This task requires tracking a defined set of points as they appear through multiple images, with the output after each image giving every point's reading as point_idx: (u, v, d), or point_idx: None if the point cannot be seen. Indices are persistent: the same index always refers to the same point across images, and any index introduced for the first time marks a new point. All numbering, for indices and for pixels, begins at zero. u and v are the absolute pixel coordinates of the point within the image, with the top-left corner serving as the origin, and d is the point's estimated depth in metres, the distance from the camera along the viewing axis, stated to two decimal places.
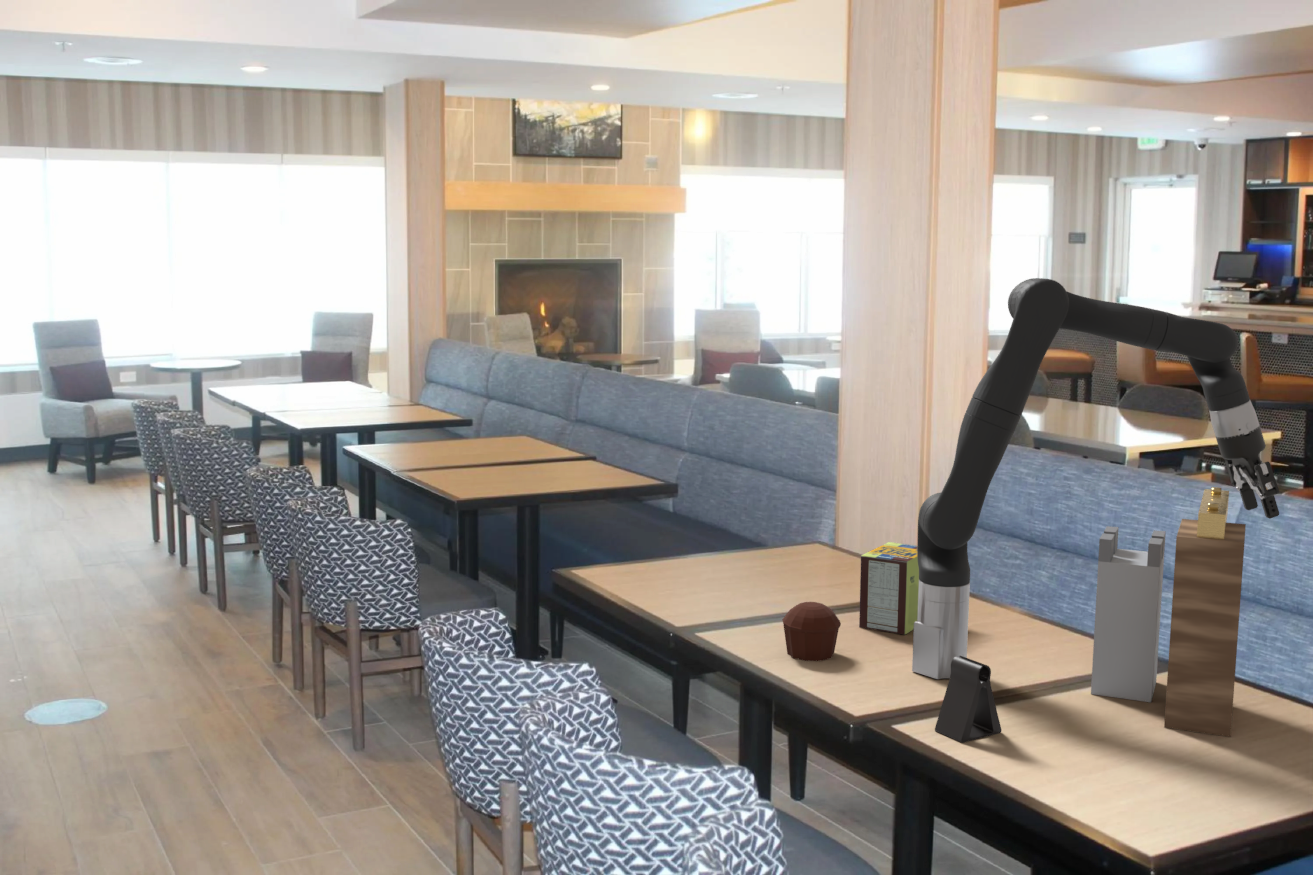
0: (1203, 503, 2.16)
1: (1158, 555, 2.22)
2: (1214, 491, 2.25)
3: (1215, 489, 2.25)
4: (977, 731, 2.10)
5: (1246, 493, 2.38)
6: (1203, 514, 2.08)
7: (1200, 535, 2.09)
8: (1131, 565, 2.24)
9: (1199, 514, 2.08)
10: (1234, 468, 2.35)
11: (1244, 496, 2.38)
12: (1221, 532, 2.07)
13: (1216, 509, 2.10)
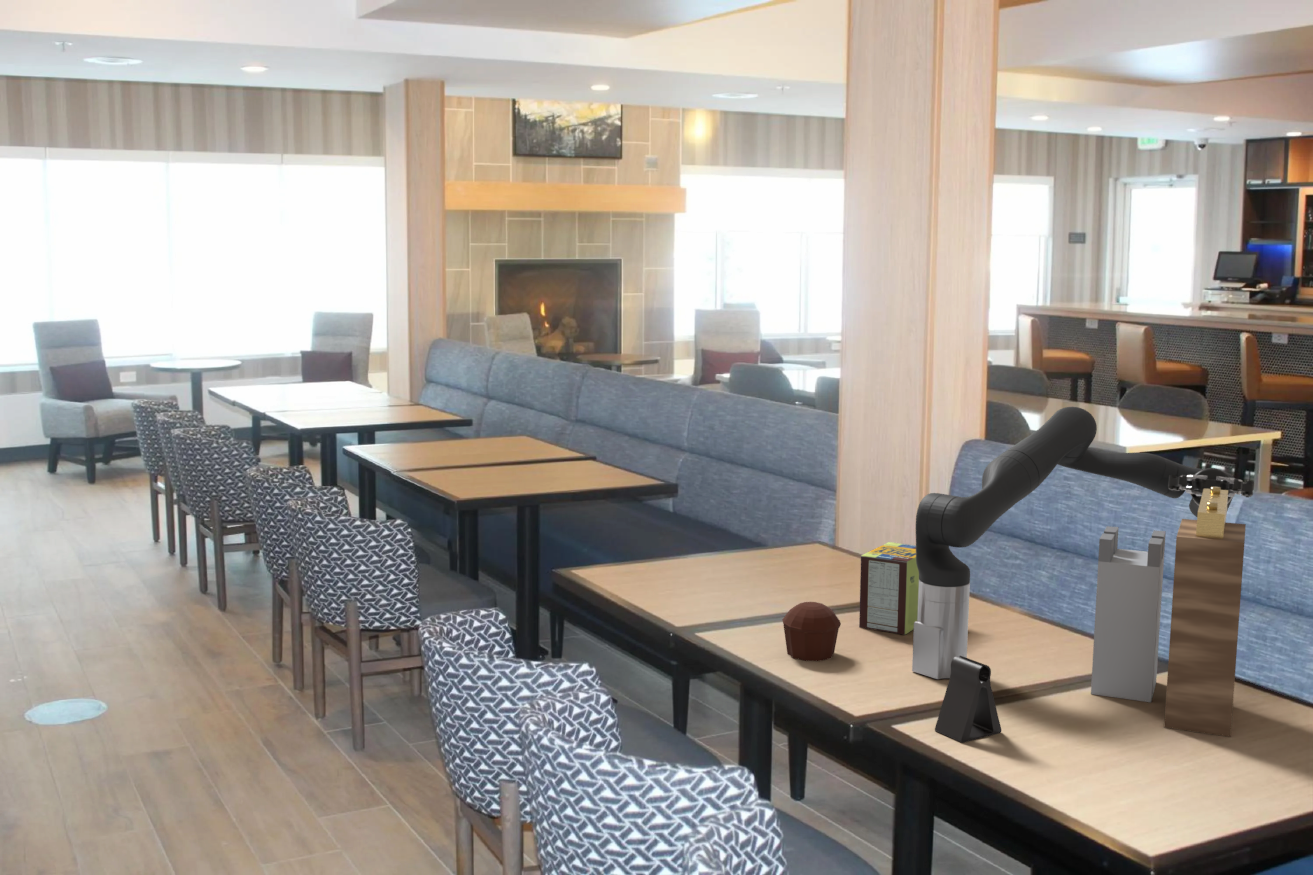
0: (1202, 502, 2.17)
1: (1158, 555, 2.22)
2: (1213, 491, 2.25)
3: (1214, 488, 2.25)
4: (977, 731, 2.10)
5: None
6: (1202, 513, 2.08)
7: (1199, 534, 2.09)
8: (1131, 565, 2.24)
9: (1198, 513, 2.09)
10: None
11: None
12: (1220, 531, 2.08)
13: (1215, 508, 2.11)
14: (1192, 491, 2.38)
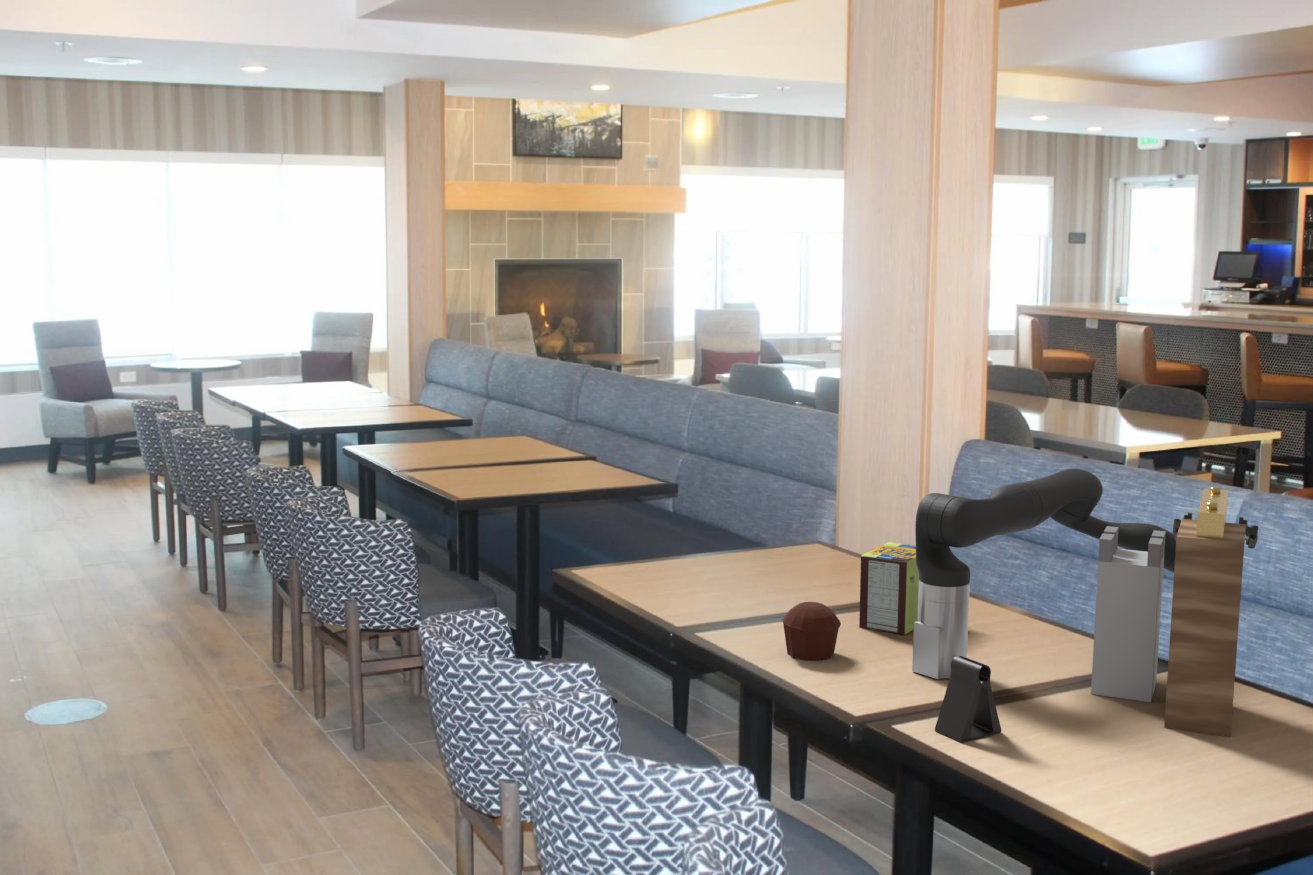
0: (1202, 502, 2.17)
1: (1158, 555, 2.22)
2: (1213, 491, 2.25)
3: (1214, 488, 2.25)
4: (977, 731, 2.10)
5: None
6: (1202, 513, 2.08)
7: (1199, 534, 2.09)
8: (1131, 565, 2.24)
9: (1198, 513, 2.09)
10: None
11: None
12: (1220, 531, 2.08)
13: (1215, 508, 2.11)
14: None
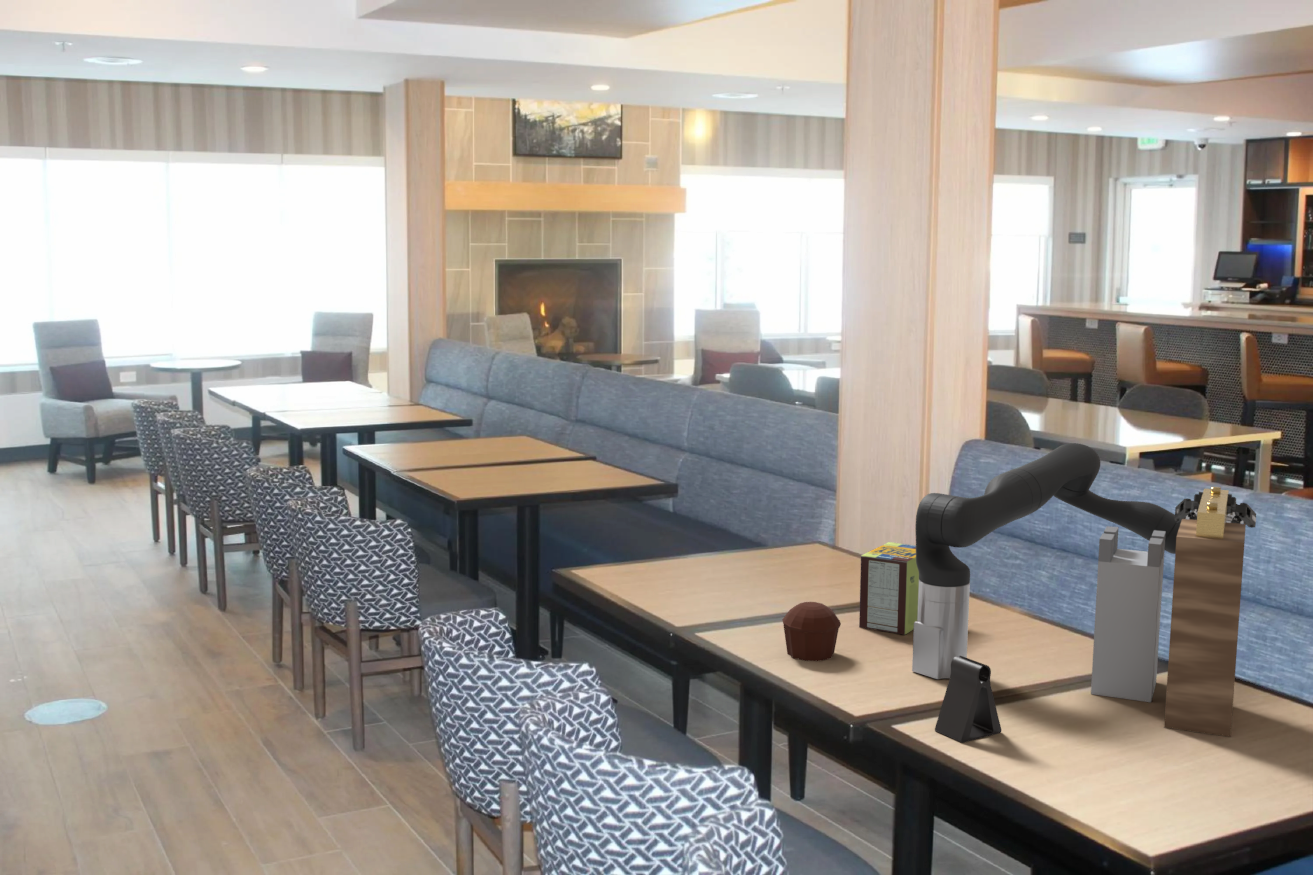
0: (1202, 502, 2.17)
1: (1158, 555, 2.22)
2: (1214, 491, 2.25)
3: (1214, 488, 2.25)
4: (977, 731, 2.10)
5: None
6: (1202, 513, 2.08)
7: (1199, 534, 2.09)
8: (1131, 565, 2.24)
9: (1198, 513, 2.09)
10: None
11: None
12: (1220, 531, 2.08)
13: (1215, 508, 2.11)
14: None
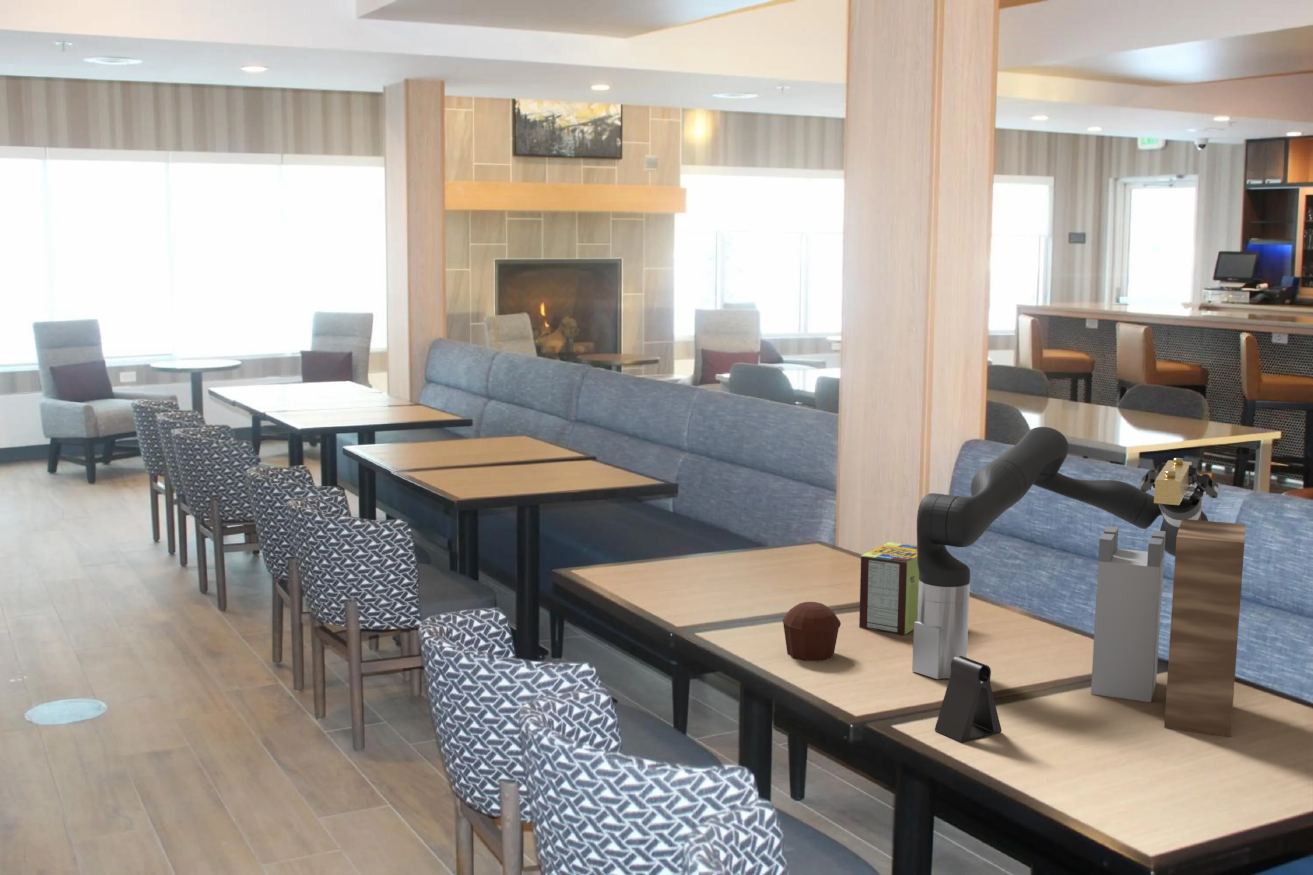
0: (1162, 472, 2.26)
1: (1158, 555, 2.22)
2: (1176, 462, 2.34)
3: (1177, 460, 2.34)
4: (977, 731, 2.10)
5: None
6: (1159, 480, 2.18)
7: (1157, 501, 2.18)
8: (1131, 565, 2.24)
9: (1156, 481, 2.18)
10: None
11: None
12: (1177, 498, 2.17)
13: (1173, 476, 2.20)
14: None
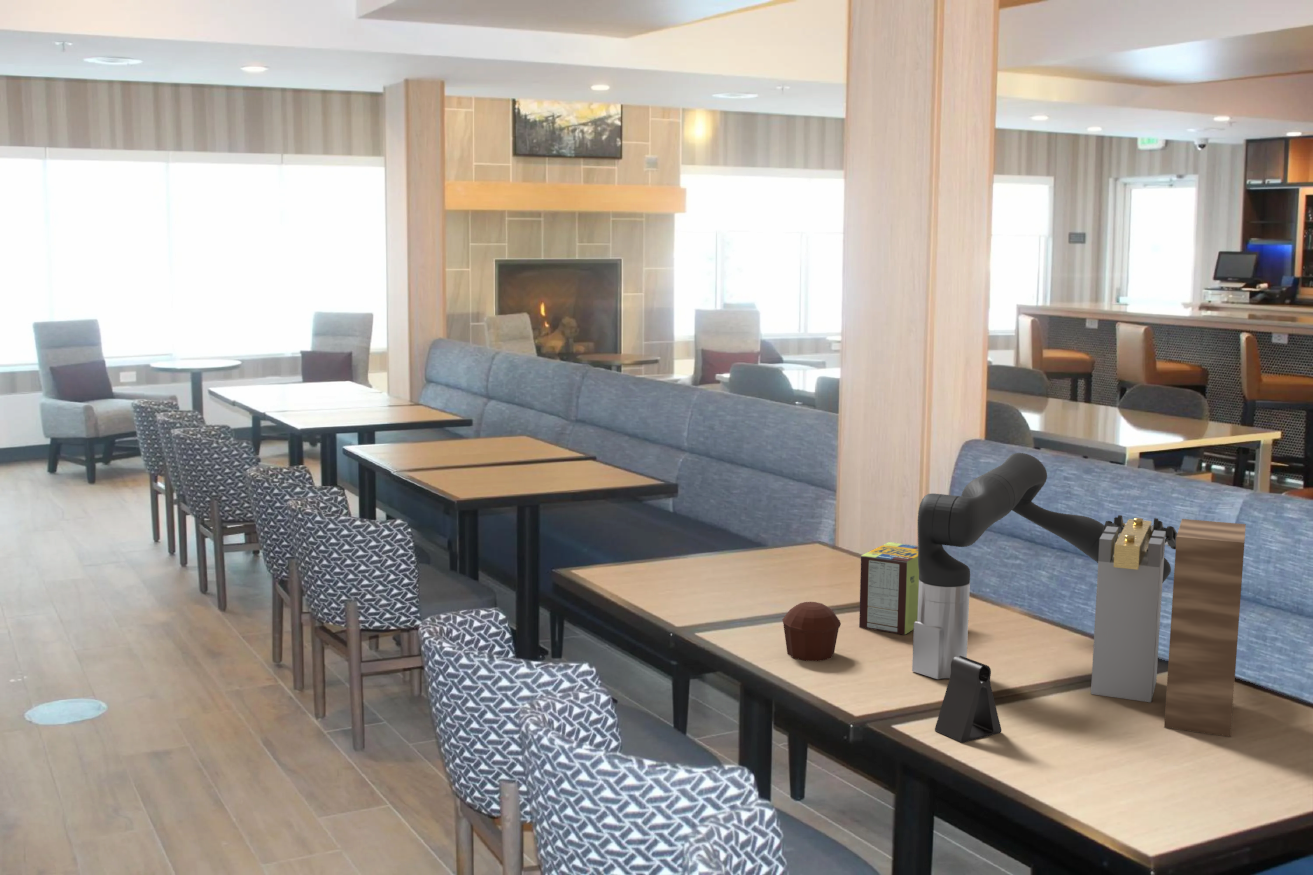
0: (1122, 534, 2.29)
1: (1158, 555, 2.22)
2: (1136, 522, 2.38)
3: (1137, 520, 2.38)
4: (977, 731, 2.10)
5: (1122, 524, 2.41)
6: (1119, 545, 2.21)
7: (1116, 565, 2.22)
8: None
9: (1115, 545, 2.21)
10: None
11: (1122, 521, 2.41)
12: (1136, 562, 2.20)
13: (1132, 541, 2.23)
14: None
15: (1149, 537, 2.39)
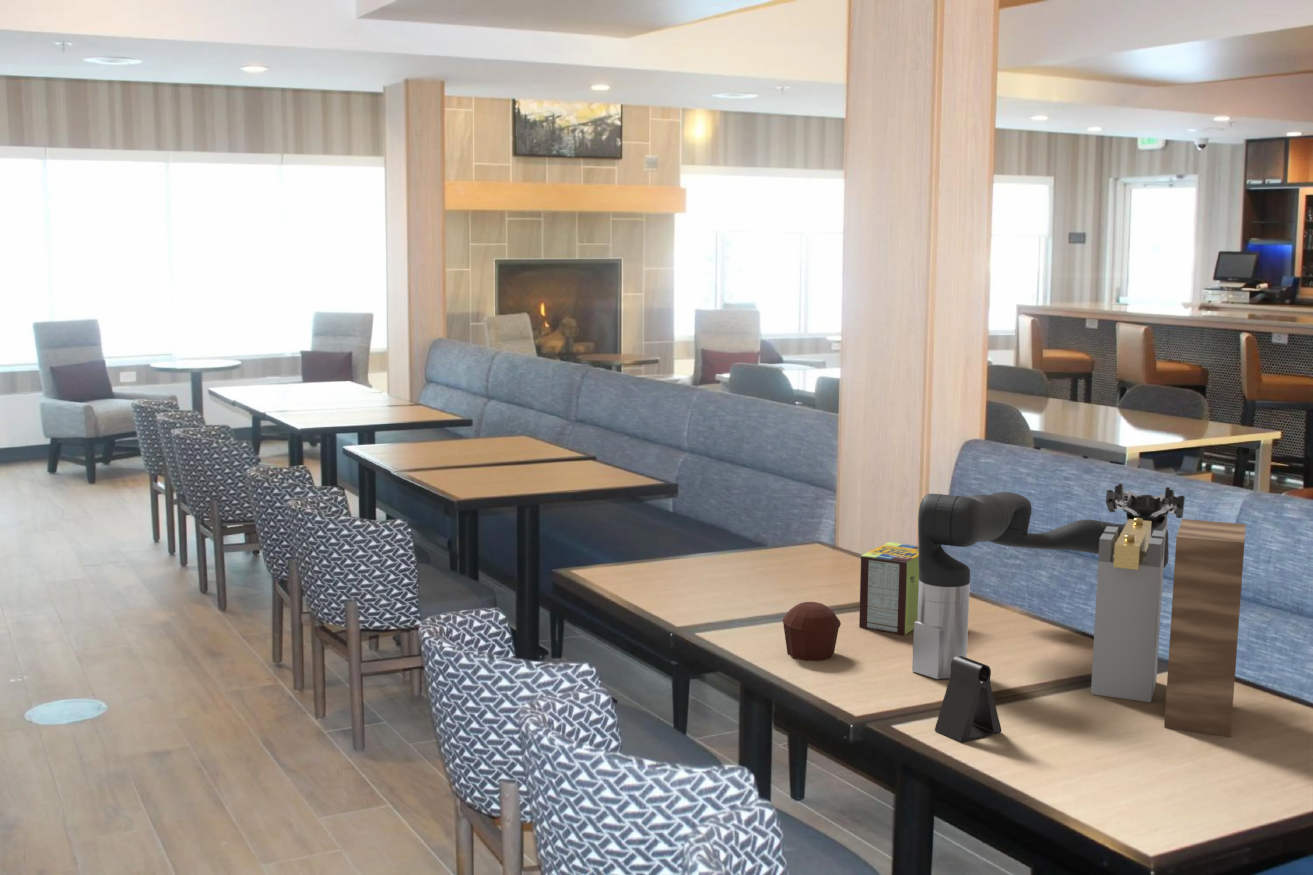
0: (1122, 534, 2.29)
1: (1158, 555, 2.22)
2: (1136, 522, 2.38)
3: (1137, 520, 2.38)
4: (977, 731, 2.10)
5: (1122, 492, 2.52)
6: (1119, 545, 2.21)
7: (1116, 565, 2.22)
8: None
9: (1115, 545, 2.21)
10: None
11: None
12: (1136, 562, 2.20)
13: (1132, 541, 2.23)
14: (1128, 506, 2.53)
15: (1149, 537, 2.39)
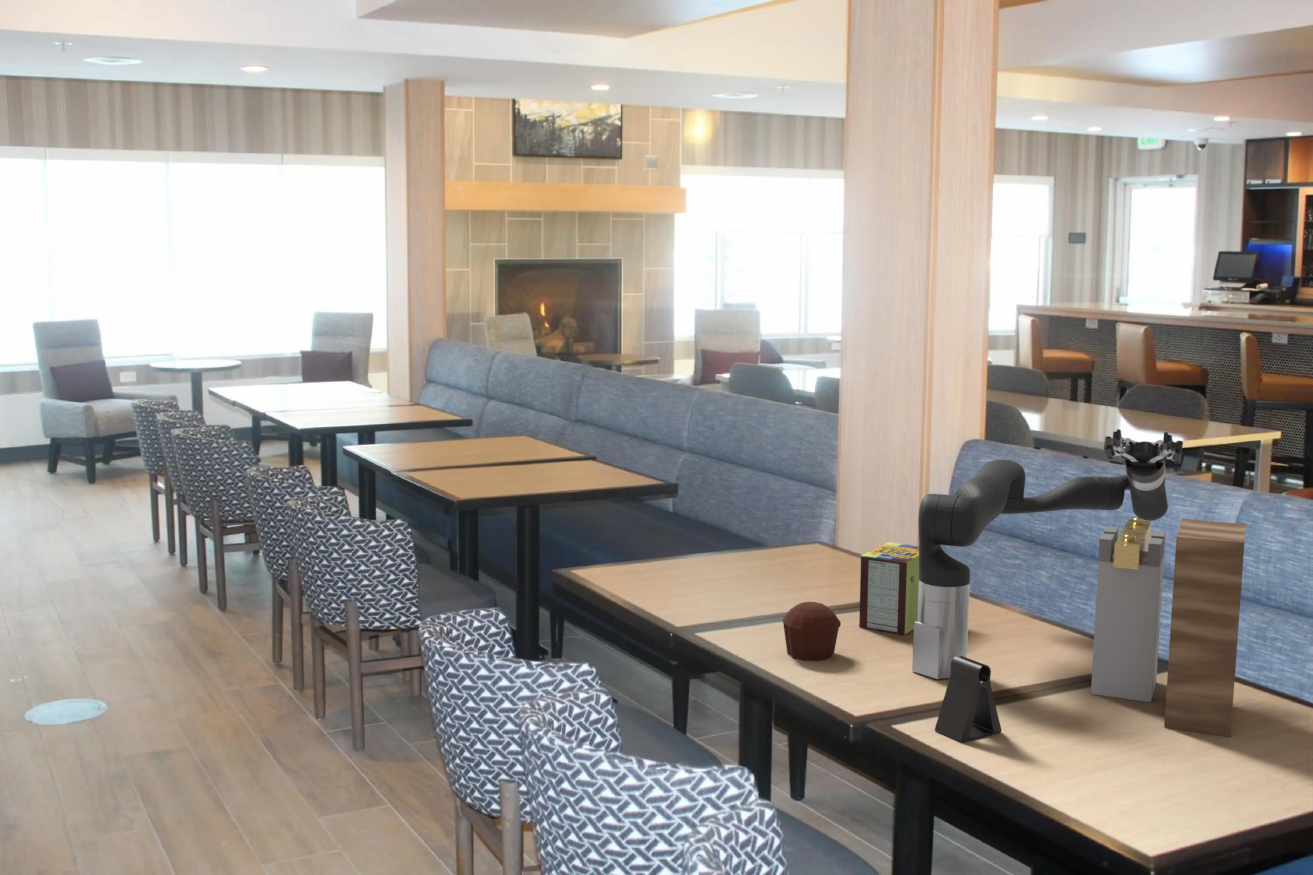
0: (1122, 534, 2.29)
1: (1158, 555, 2.22)
2: (1136, 522, 2.38)
3: (1137, 520, 2.38)
4: (977, 731, 2.10)
5: None
6: (1119, 545, 2.21)
7: (1116, 565, 2.22)
8: None
9: (1115, 545, 2.21)
10: None
11: (1121, 435, 2.52)
12: (1136, 562, 2.20)
13: (1132, 541, 2.23)
14: (1126, 452, 2.53)
15: (1149, 537, 2.39)
